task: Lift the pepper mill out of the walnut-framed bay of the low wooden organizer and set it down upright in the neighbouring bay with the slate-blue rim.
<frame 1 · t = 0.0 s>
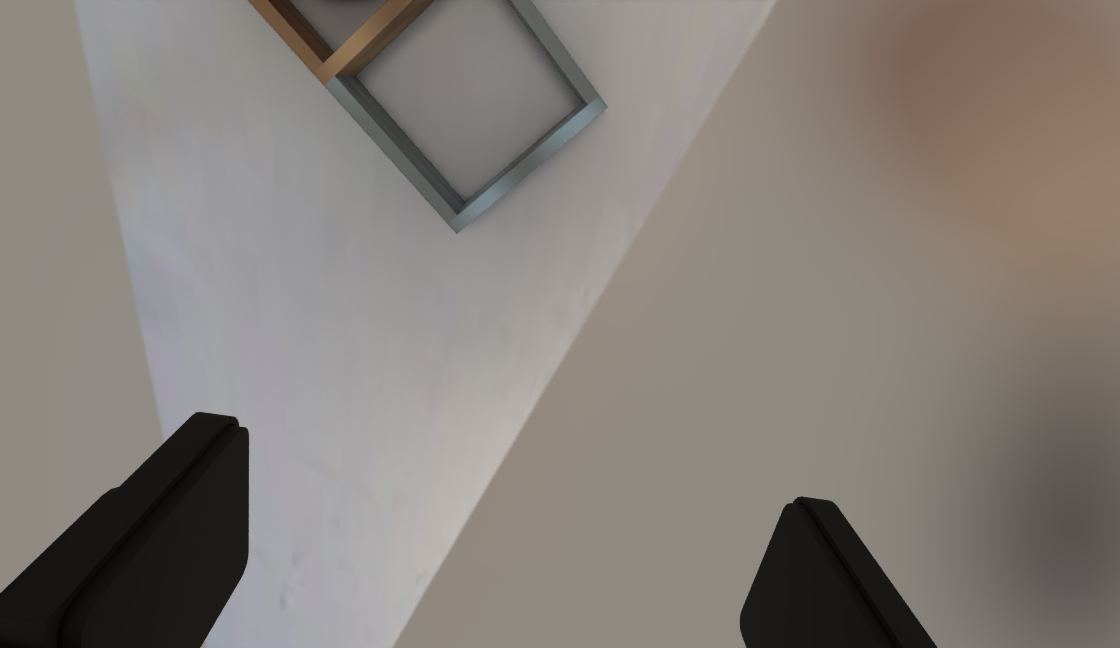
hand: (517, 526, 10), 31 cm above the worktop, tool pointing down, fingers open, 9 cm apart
organizer: (409, 13, 35), on the worktop
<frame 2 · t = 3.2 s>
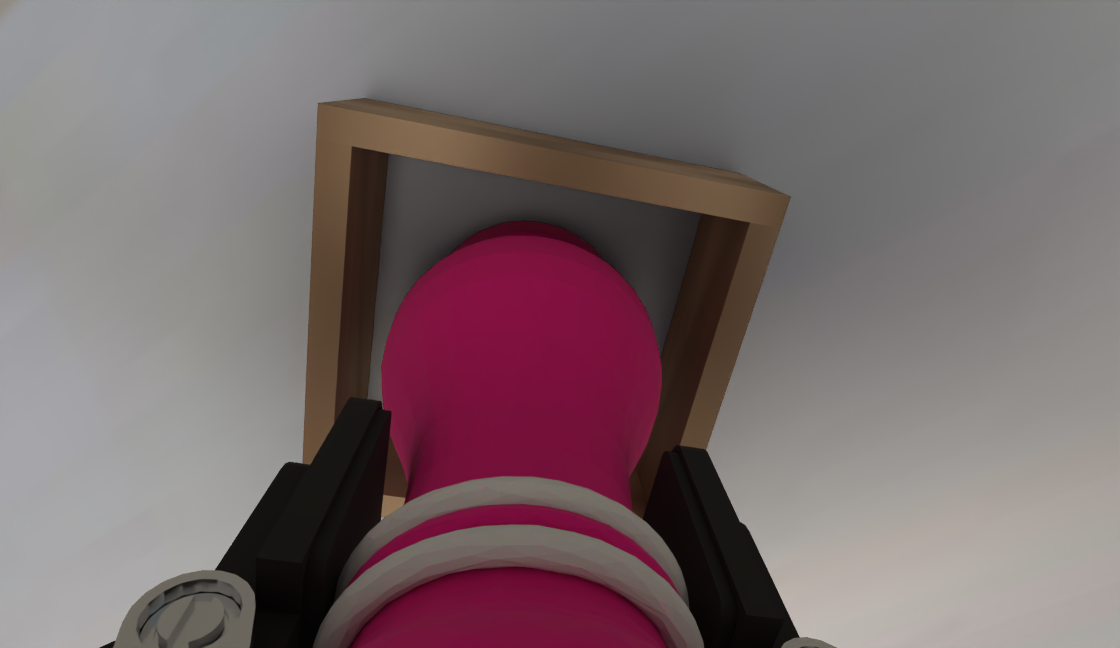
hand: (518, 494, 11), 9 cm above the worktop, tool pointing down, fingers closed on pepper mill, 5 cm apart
organizer: (501, 445, 22), on the worktop
pepper mill: (525, 310, 20), resting in organizer, touching gripper
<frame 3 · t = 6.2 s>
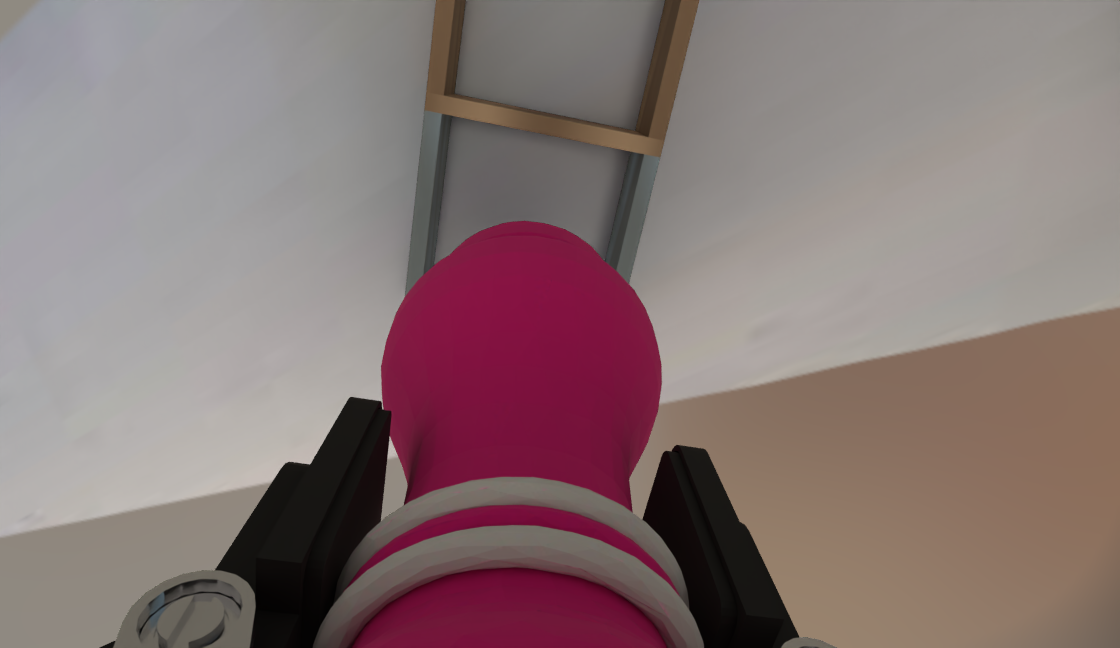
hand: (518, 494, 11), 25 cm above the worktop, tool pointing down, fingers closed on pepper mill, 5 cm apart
organizer: (544, 120, 32), on the worktop
pepper mill: (525, 310, 20), point 15 cm above the worktop, touching gripper
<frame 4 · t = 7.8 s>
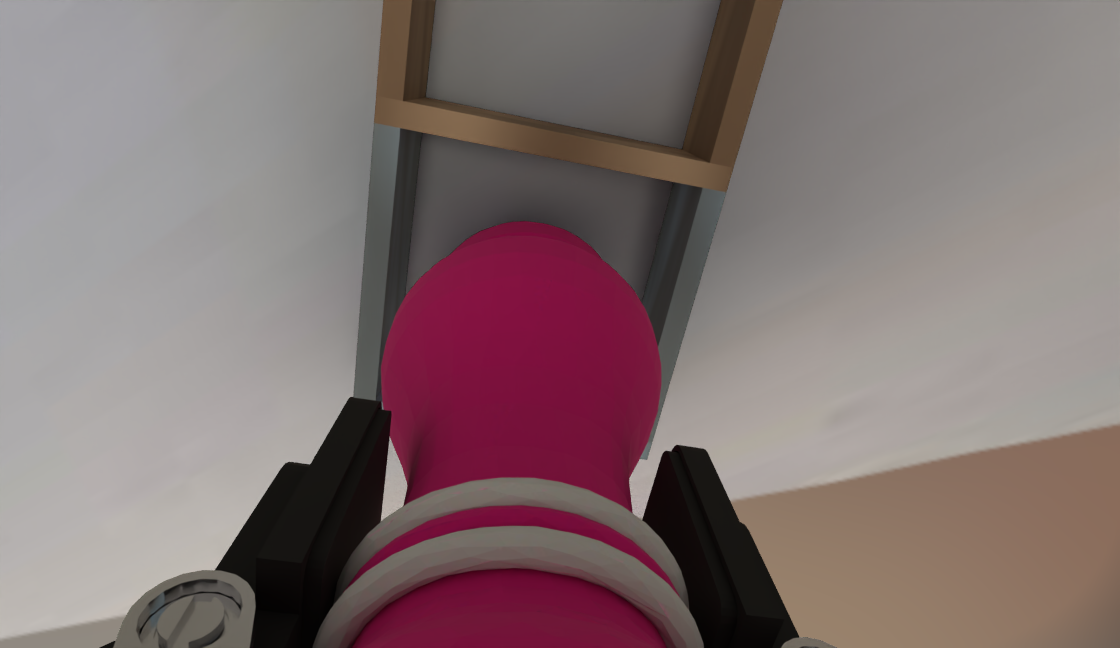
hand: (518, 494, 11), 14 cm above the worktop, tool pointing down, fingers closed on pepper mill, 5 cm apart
organizer: (554, 134, 23), on the worktop
pepper mill: (525, 310, 20), point 5 cm above the worktop, touching gripper
when the fingers open (11 cm above the worktop, at t = 9.0 s): pepper mill drops 1 cm, resting in organizer.
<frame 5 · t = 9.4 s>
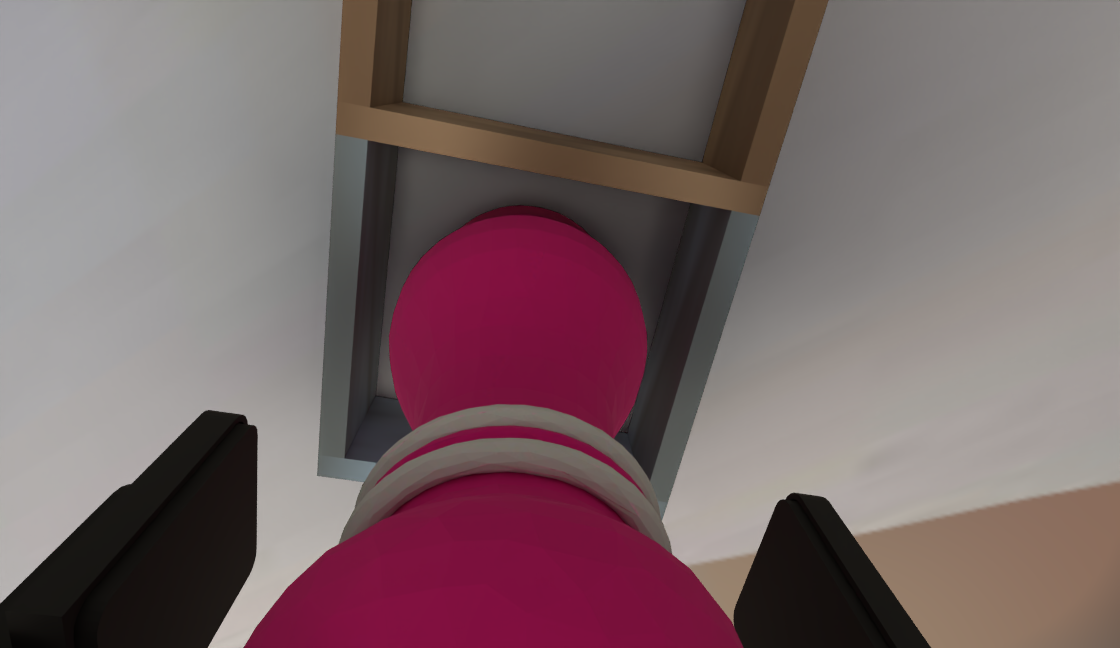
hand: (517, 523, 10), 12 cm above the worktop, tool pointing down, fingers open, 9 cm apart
organizer: (554, 145, 19), on the worktop
pepper mill: (522, 290, 21), resting in organizer
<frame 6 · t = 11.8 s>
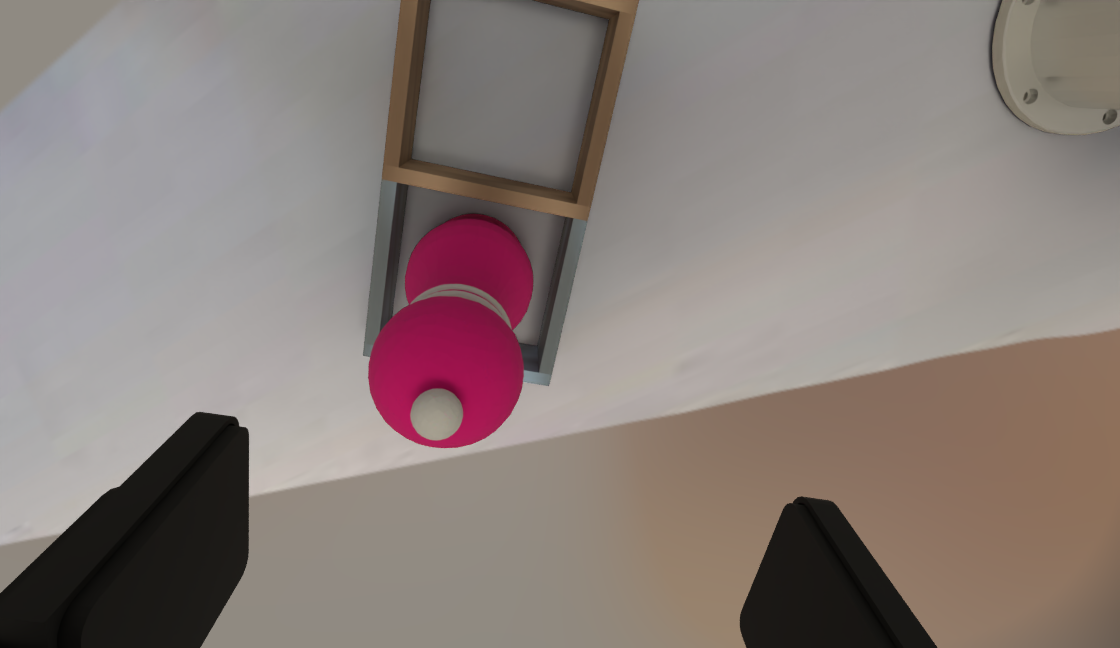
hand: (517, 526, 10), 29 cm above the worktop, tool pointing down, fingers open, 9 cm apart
organizer: (491, 182, 36), on the worktop
pepper mill: (475, 260, 38), resting in organizer
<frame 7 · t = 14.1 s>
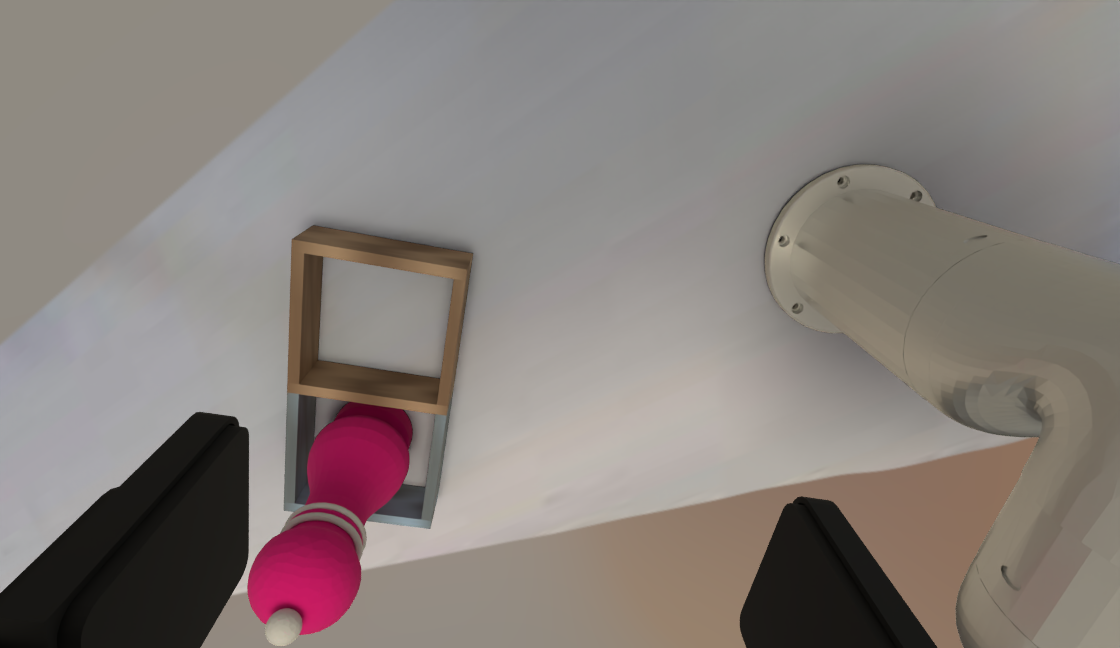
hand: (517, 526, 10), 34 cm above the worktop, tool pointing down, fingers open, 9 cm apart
organizer: (381, 374, 47), on the worktop
pepper mill: (375, 427, 49), resting in organizer
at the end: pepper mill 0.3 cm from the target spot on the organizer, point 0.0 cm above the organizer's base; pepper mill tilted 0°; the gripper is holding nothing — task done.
